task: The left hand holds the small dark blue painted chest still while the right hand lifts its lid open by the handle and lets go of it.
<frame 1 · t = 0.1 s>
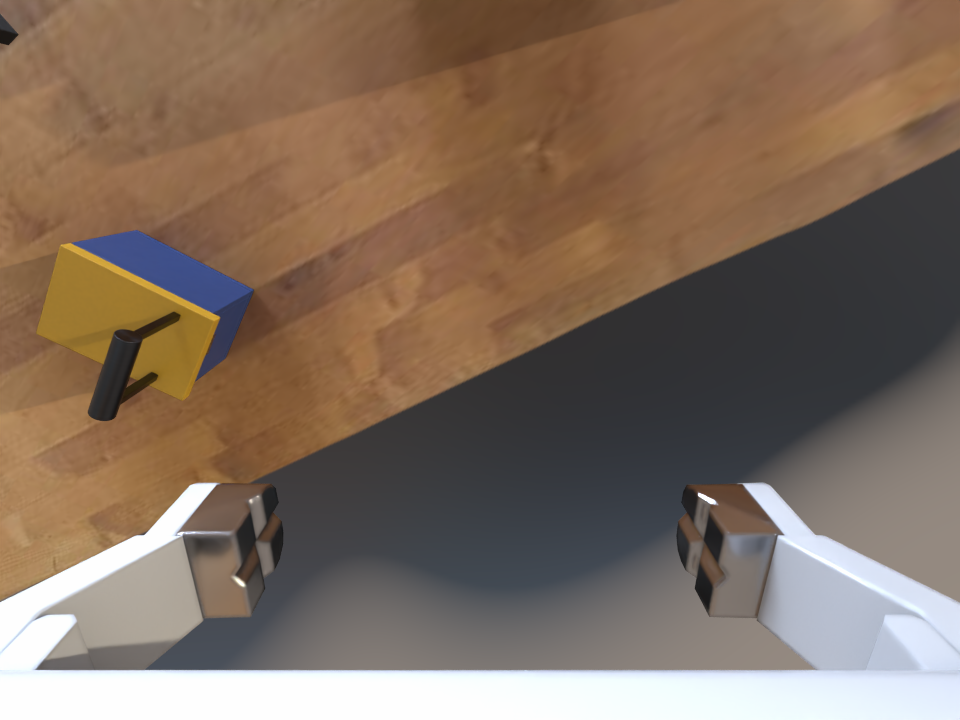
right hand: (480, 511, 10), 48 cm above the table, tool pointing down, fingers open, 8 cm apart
chest: (183, 296, 58), on the table
lid: (99, 339, 45), point 14 cm above the table, hinge at 0.0°
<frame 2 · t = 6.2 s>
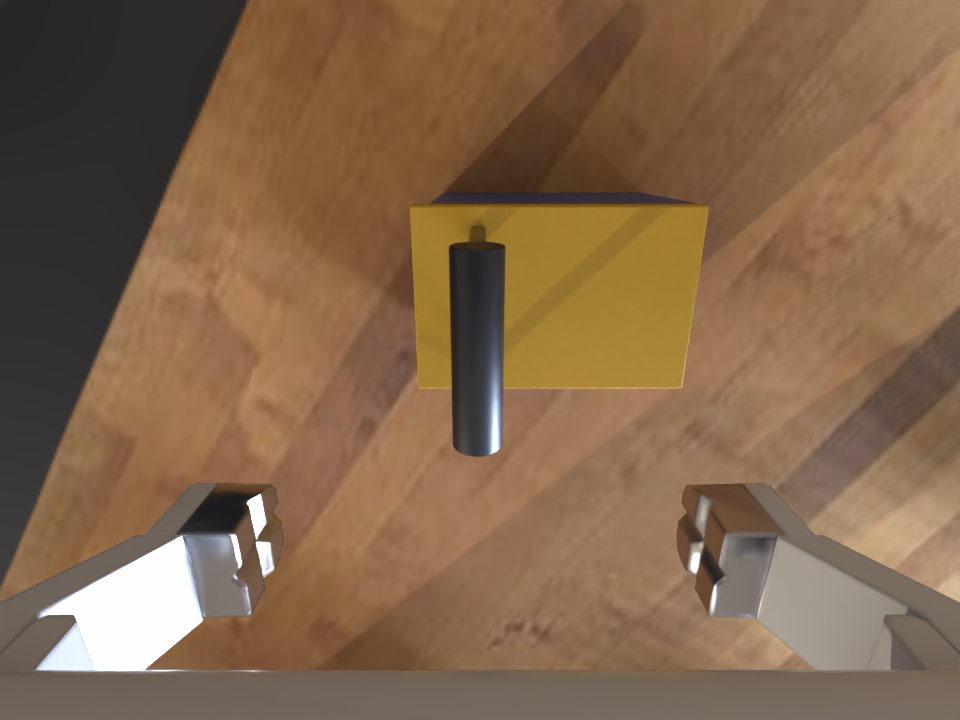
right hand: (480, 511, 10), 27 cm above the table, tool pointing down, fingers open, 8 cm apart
chest: (539, 263, 36), on the table
lid: (565, 322, 23), point 14 cm above the table, hinge at 0.0°
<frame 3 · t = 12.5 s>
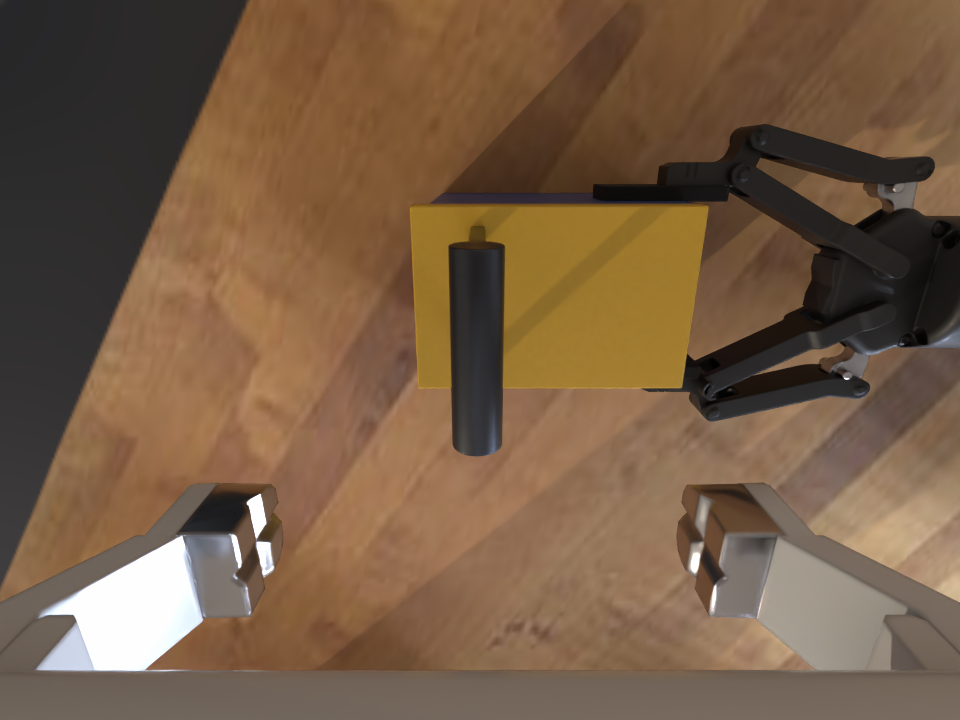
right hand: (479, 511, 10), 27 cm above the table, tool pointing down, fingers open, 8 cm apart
left hand: (591, 283, 30), fingers closed on chest, 9 cm apart
chest: (539, 263, 36), on the table, touching left hand
lid: (564, 322, 23), point 14 cm above the table, hinge at 0.0°
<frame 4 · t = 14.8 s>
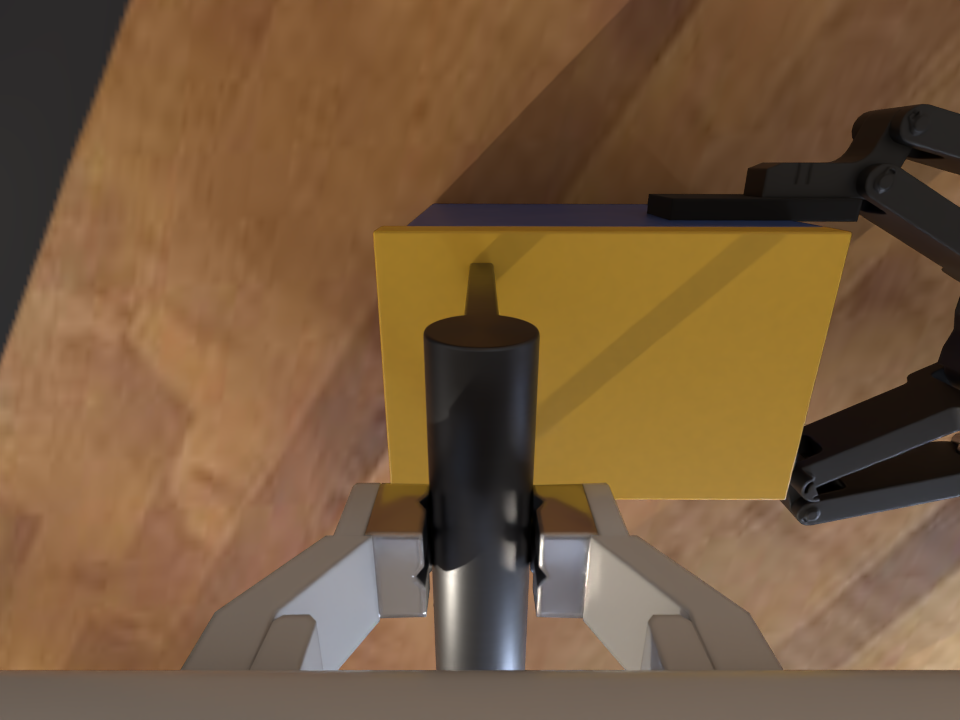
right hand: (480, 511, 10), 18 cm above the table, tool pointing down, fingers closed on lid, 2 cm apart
left hand: (643, 336, 21), fingers closed on chest, 9 cm apart
chest: (562, 297, 27), on the table, touching left hand
lid: (627, 429, 14), point 14 cm above the table, hinge at 0.0°, touching right hand
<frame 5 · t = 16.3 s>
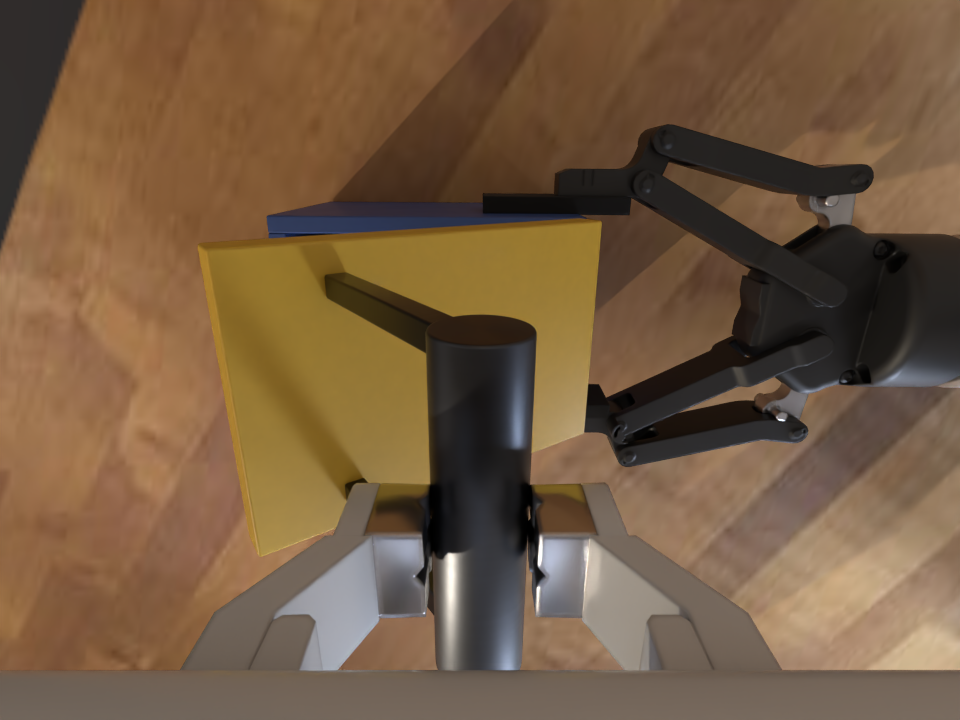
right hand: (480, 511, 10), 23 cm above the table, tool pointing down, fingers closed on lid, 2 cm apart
left hand: (482, 308, 26), fingers closed on chest, 9 cm apart
chest: (444, 281, 32), on the table, touching left hand
lid: (513, 403, 15), point 18 cm above the table, hinge at 35.4°, touching right hand
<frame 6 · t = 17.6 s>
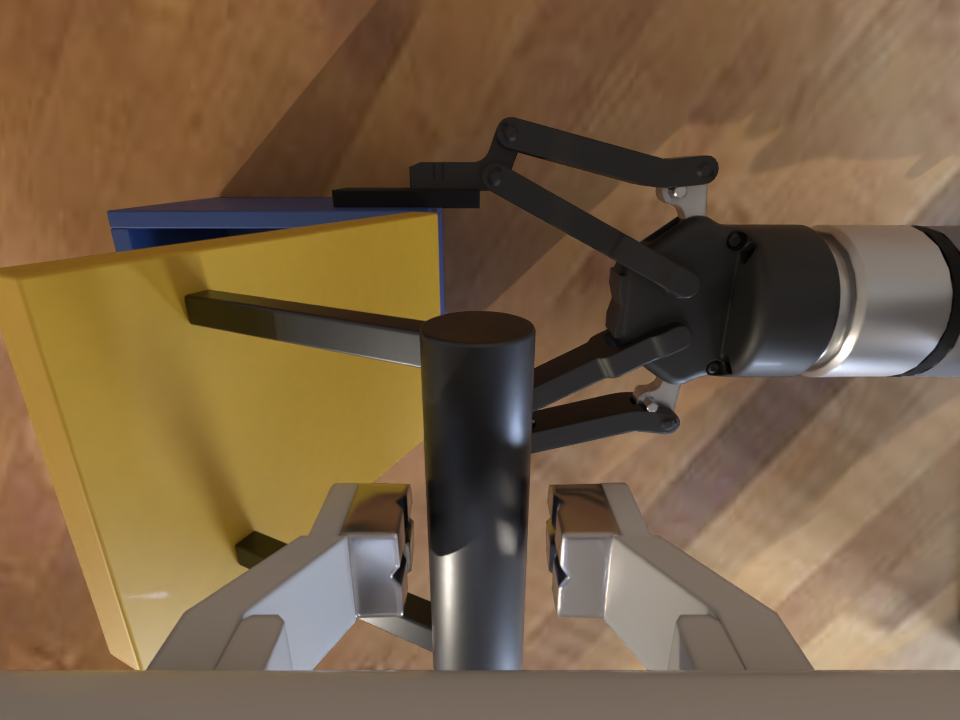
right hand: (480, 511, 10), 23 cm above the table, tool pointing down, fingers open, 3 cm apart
left hand: (350, 302, 26), fingers closed on chest, 9 cm apart
chest: (336, 276, 32), on the table, touching left hand
lid: (421, 404, 15), point 18 cm above the table, hinge at 63.7°
when the left hand's fingers open (6 cm above the table, at t = 21.7 s): chest stays where it is, on the table.
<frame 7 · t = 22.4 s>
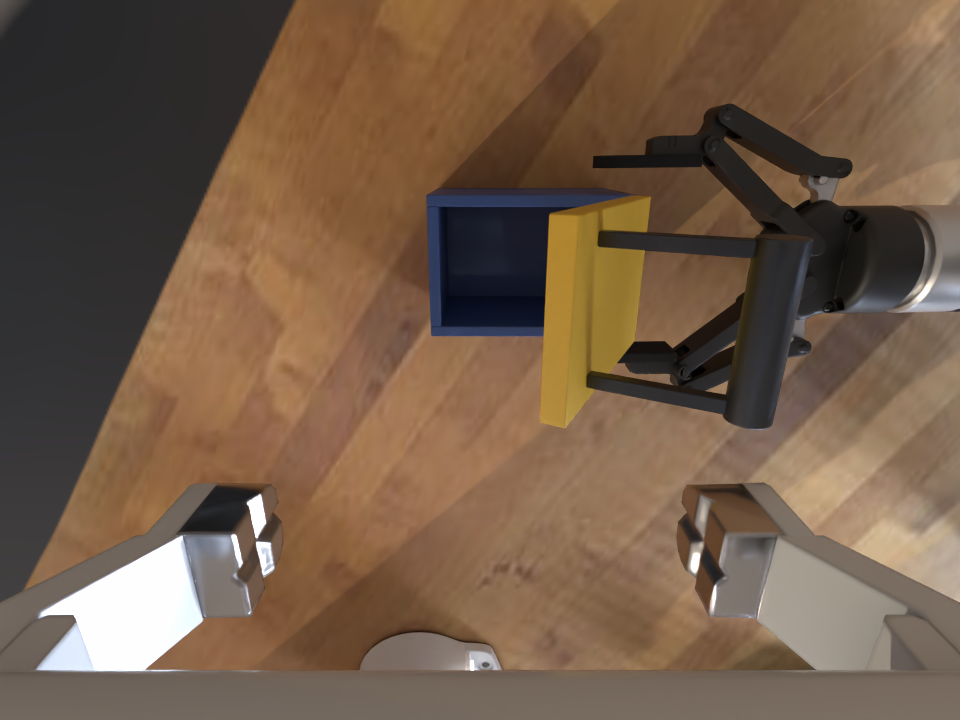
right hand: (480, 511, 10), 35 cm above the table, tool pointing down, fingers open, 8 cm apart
left hand: (589, 263, 37), fingers open, 13 cm apart
chest: (519, 247, 43), on the table
lid: (682, 302, 26), point 18 cm above the table, hinge at 62.0°
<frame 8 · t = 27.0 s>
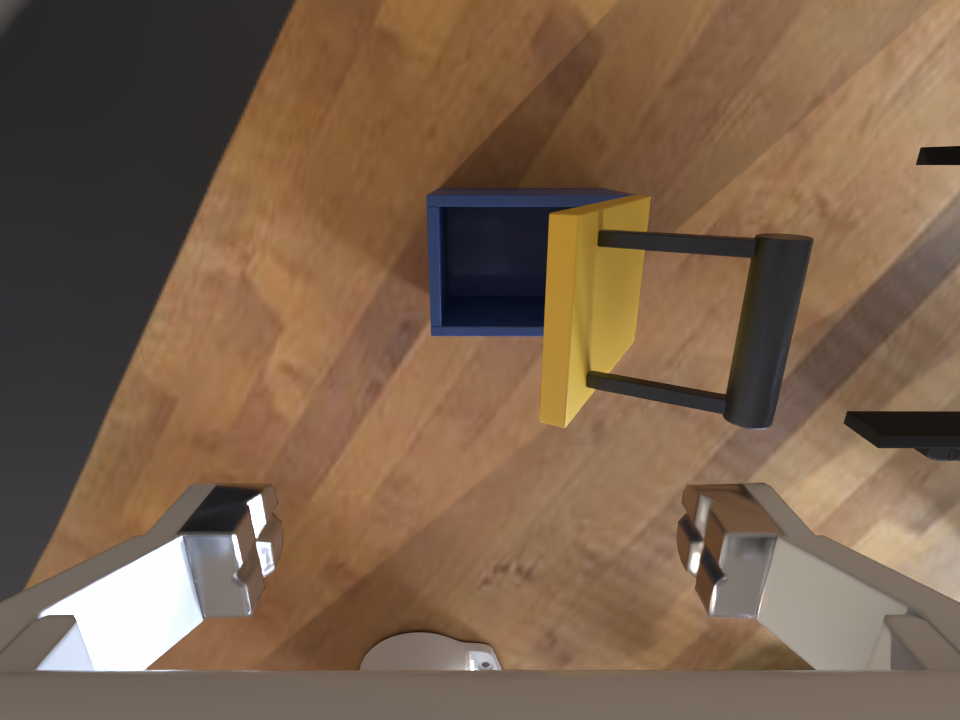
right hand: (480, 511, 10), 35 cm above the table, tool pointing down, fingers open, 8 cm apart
chest: (519, 247, 43), on the table
lid: (682, 302, 26), point 18 cm above the table, hinge at 62.0°
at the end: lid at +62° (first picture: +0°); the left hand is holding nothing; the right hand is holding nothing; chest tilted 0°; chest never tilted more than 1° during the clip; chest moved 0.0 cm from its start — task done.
